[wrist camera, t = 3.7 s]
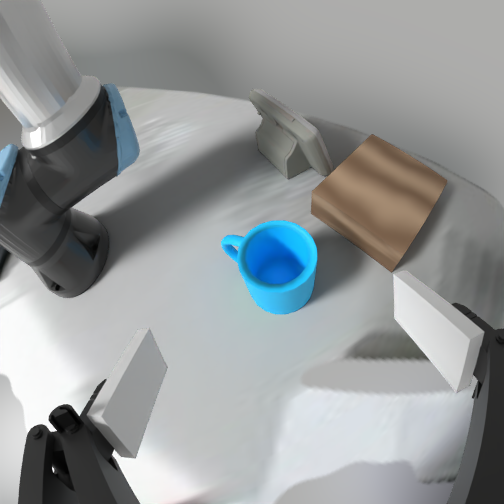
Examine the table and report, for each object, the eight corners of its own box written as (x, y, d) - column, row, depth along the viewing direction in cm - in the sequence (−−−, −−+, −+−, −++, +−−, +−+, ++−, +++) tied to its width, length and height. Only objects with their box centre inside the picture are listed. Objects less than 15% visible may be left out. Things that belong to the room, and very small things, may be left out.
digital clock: (337, 179, 42) (343, 126, 33) (285, 197, 42) (279, 144, 33) (294, 122, 50) (290, 75, 41) (249, 136, 50) (239, 88, 41)
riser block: (391, 272, 34) (403, 255, 30) (311, 213, 40) (311, 191, 36) (436, 200, 38) (447, 180, 33) (367, 155, 44) (371, 134, 39)
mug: (324, 270, 36) (330, 238, 29) (294, 326, 33) (293, 307, 26) (245, 234, 40) (233, 198, 33) (213, 282, 37) (193, 254, 30)
